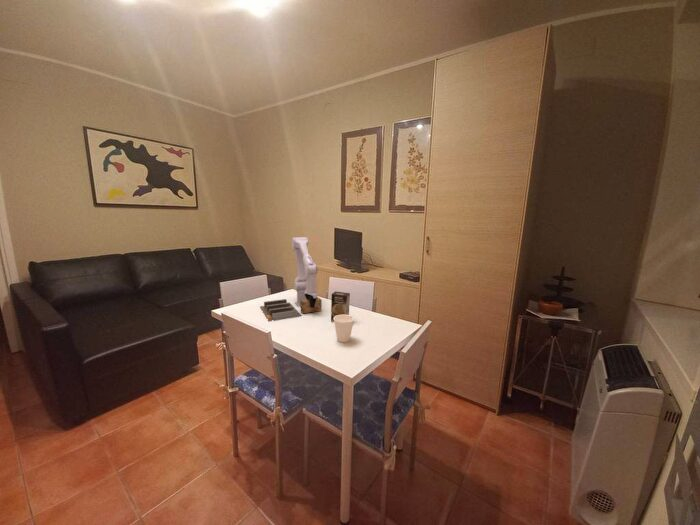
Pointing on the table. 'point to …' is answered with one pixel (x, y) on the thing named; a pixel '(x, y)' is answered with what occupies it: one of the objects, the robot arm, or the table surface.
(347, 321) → the cup
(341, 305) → the coffee box
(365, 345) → the table surface
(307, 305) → the brown wooden block
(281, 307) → the rack
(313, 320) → the table surface
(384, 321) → the table surface
